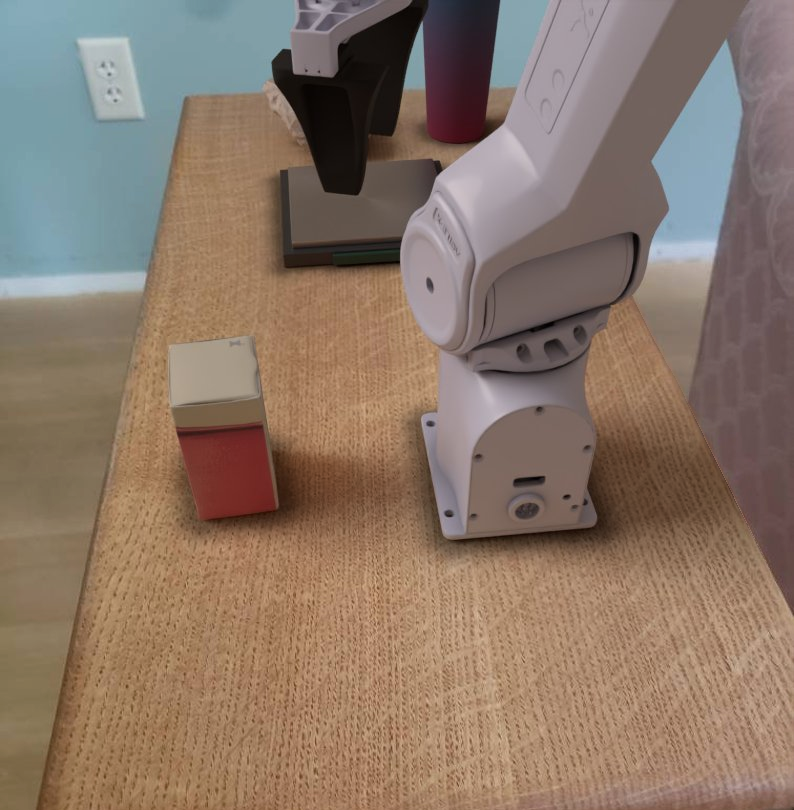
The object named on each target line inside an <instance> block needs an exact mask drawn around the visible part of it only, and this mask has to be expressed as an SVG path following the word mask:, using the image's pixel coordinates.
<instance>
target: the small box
mask: <svg viewBox="0 0 794 810" xmlns="http://www.w3.org/2000/svg"><path fill="white" fill-rule="evenodd" d="M167 355H168V356H167V381H168V382H167V383H168V385H167V386H168V401H169V409H170V413H171V417H172V421H173V424H174V428H175V433H176V436H177V439H178V444H179V447H180V451H181V454H182V459H183V462H184V463H183V464H184V466H185V470H186V473H187V478H188V481H189V485H190V489H191V492H192V496H193V500H194V503H195V508H196V512H197V516H198V518H199V520H202V521H206V520H213V519H222V518H229V517H236V516H237V517H238V516H244V515H251V514H252V515H253V514H257V513H258V514H259V513H264V512H271V511H276V510H277V511H278V509H279V507H280V503H279V494H278V486H277V485H278V484H277V478H276V470H275V465H274V459H273V452H272V445H271V437H270V431H269V424H268V419H267V418H268V417H267V413H266V405H265V398H264V392H263V384H262V379H261V372H260V366H259V359H258V353H257V346H256V339H255V336H254V334H247V335H246V334H245V335H237V336H227V337H219V338H218V337H217V338H212V339H201V340H194V341H185V342H177V343H171V344H169V346H168V353H167Z"/></svg>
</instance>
